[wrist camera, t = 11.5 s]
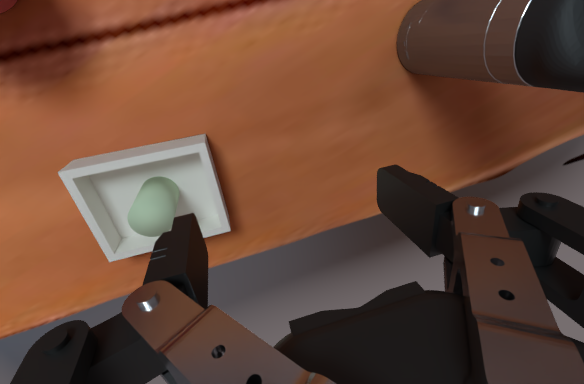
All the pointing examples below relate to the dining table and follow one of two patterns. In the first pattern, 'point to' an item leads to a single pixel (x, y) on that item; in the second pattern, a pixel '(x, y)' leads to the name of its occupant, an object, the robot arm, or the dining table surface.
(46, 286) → the dining table surface
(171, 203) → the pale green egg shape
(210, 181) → the serving dish
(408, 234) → the robot arm
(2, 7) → the flower pot
